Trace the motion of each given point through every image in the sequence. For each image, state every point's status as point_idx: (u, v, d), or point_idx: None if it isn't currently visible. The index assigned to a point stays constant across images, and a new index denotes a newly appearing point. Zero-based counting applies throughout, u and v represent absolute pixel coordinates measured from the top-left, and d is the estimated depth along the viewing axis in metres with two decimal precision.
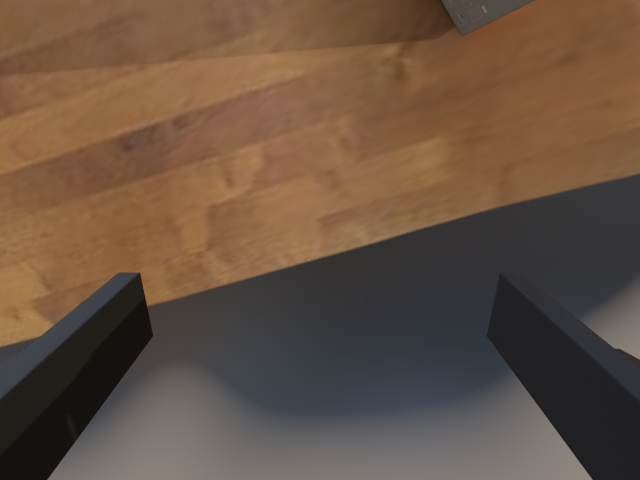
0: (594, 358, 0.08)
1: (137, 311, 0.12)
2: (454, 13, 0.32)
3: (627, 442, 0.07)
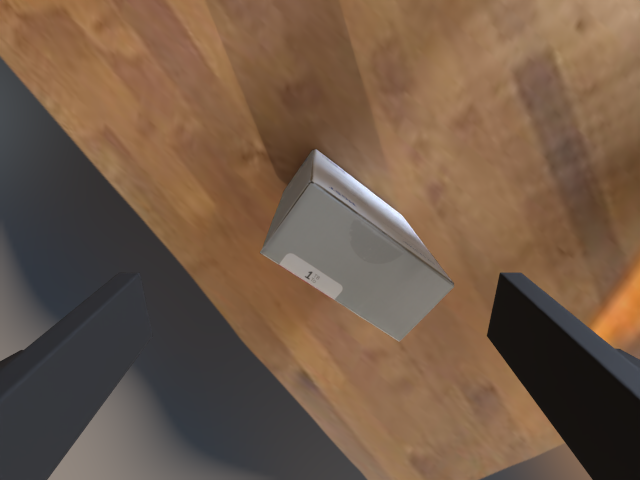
0: (594, 358, 0.08)
1: (137, 311, 0.12)
2: (290, 181, 0.44)
3: (627, 442, 0.07)
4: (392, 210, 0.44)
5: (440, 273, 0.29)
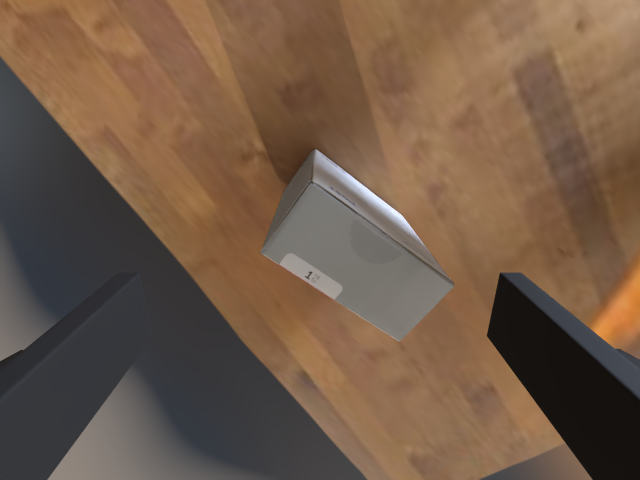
0: (594, 358, 0.08)
1: (137, 311, 0.12)
2: (290, 181, 0.44)
3: (627, 442, 0.07)
4: (392, 210, 0.44)
5: (440, 273, 0.29)
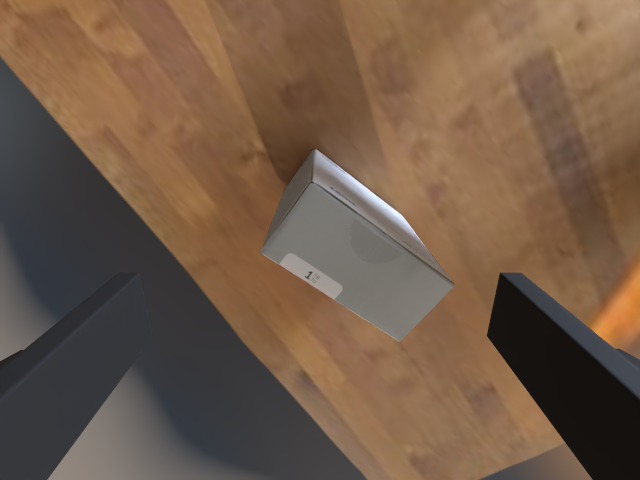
0: (594, 358, 0.08)
1: (137, 311, 0.12)
2: (290, 181, 0.44)
3: (627, 442, 0.07)
4: (392, 210, 0.44)
5: (440, 273, 0.29)
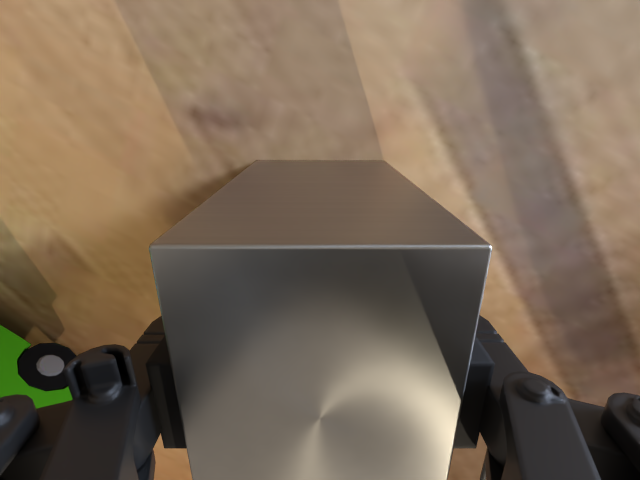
0: None
1: None
2: None
3: None
4: None
5: None
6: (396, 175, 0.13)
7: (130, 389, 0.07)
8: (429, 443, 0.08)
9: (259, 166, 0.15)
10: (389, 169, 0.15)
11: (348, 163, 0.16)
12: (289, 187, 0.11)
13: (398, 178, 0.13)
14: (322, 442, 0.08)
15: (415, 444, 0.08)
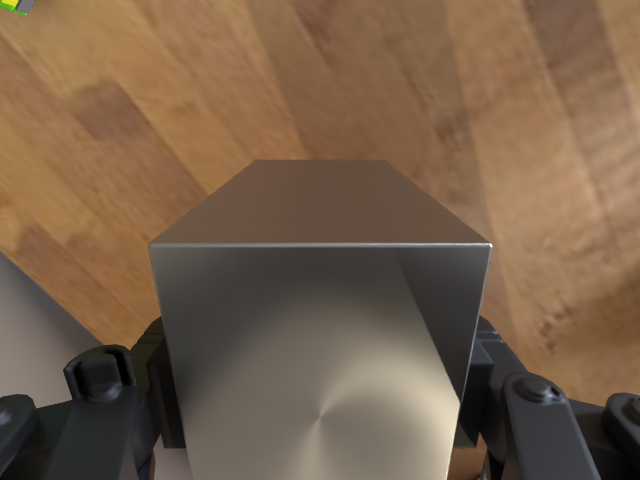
0: None
1: None
2: None
3: None
4: None
5: None
6: (396, 174, 0.13)
7: (130, 389, 0.07)
8: (429, 442, 0.08)
9: (259, 165, 0.15)
10: (389, 168, 0.15)
11: (348, 162, 0.16)
12: (289, 186, 0.11)
13: (398, 177, 0.13)
14: (322, 441, 0.08)
15: (415, 443, 0.08)
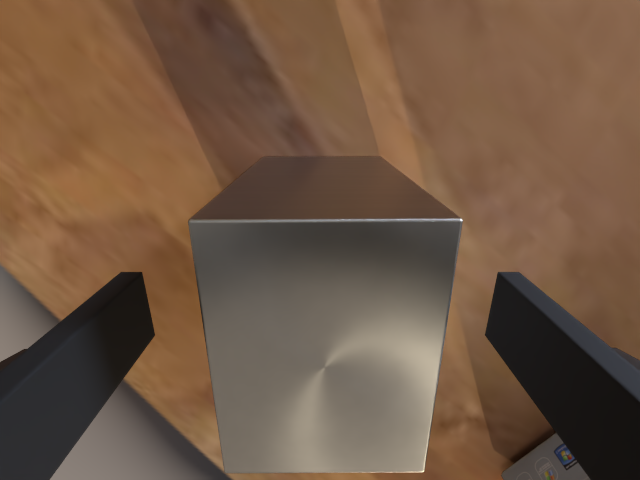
0: (591, 357, 0.08)
1: (139, 310, 0.12)
2: (529, 473, 0.25)
3: (623, 440, 0.07)
4: None
5: None
6: (390, 168, 0.15)
7: None
8: (416, 388, 0.10)
9: (267, 161, 0.17)
10: (384, 163, 0.16)
11: (347, 158, 0.18)
12: (295, 178, 0.13)
13: (391, 170, 0.14)
14: (326, 388, 0.10)
15: (404, 389, 0.10)
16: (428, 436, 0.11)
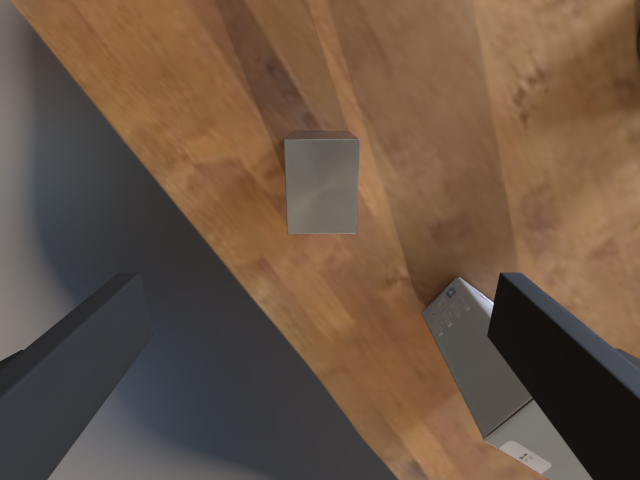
0: (594, 358, 0.08)
1: (137, 311, 0.12)
2: (434, 306, 0.47)
3: (627, 442, 0.07)
4: None
5: None
6: (349, 133, 0.36)
7: None
8: (350, 197, 0.31)
9: (297, 132, 0.38)
10: (348, 132, 0.38)
11: (332, 131, 0.39)
12: None
13: None
14: (322, 197, 0.31)
15: (347, 198, 0.31)
16: (356, 217, 0.32)
